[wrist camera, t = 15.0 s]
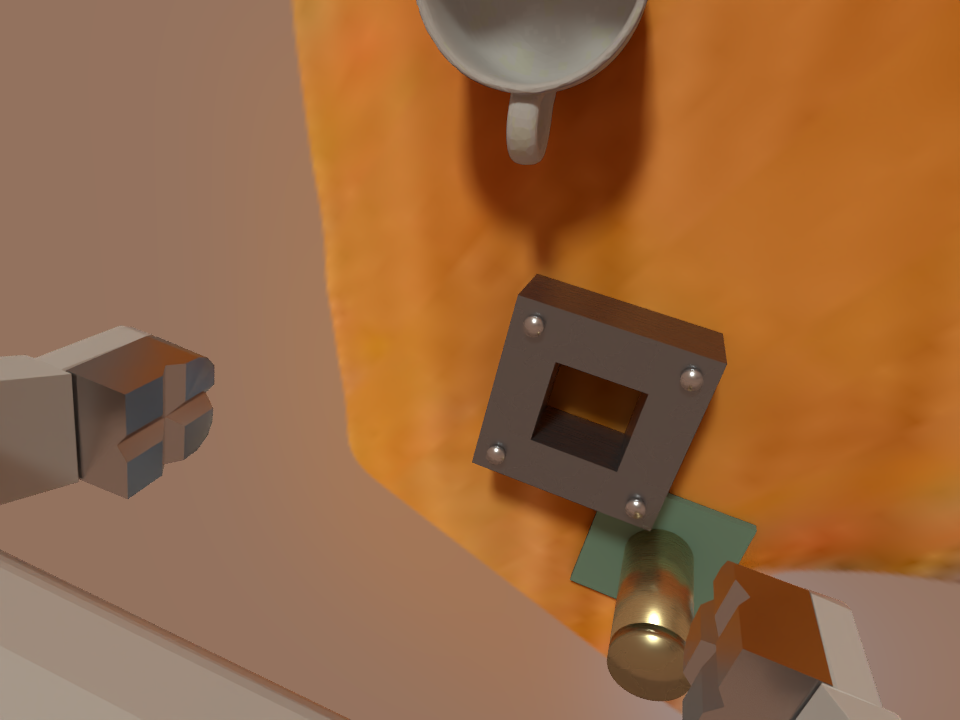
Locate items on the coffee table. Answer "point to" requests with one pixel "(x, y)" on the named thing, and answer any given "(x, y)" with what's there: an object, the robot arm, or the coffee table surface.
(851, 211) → the coffee table surface
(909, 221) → the coffee table surface
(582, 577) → the coaster
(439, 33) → the teacup
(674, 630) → the plug
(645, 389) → the housing
